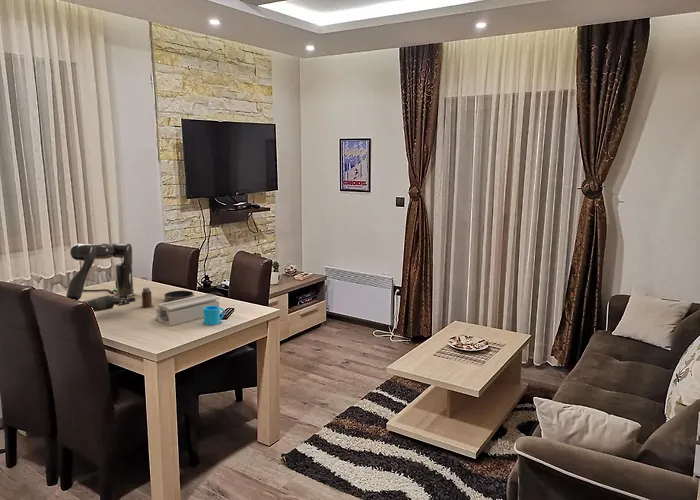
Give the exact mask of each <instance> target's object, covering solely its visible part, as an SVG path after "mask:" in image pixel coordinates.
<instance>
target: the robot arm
mask: <svg viewBox="0 0 700 500" xmlns="http://www.w3.org/2000/svg"><path fill="white" fill-rule="evenodd" d="M69 253H70V256H71V258H72V259H73V260H76V261H79V262H83V263H82V266H81V267H80V269H79V270H78V271H77V272H76V274H75V275H74V276H73V277H72V278H71V279H70V281H69V283H68V286H67V291H66V295H65V297H68V298H71V299H75V300H78V301H79V300H80V299H82V296H83V293H84V292H109V293H110V294H113V293H115V294H114V295H109V294H108V295H104V296H103V295H102V296H98V297H95V298H91V299H86V300H83V301H82V302H86V303H88V304H89V305H90V306H91V307H92V308H93V310H94V312H93V313H96V312H103V311H108V310H112V309H113V308H114V306H118V307H121V306H125V305H130V303H133V302H134V303H135V301H136V297H132V296H134V291H135V289H134V281H133V280H134V279H133V247H132V245H131V243H129V242H128V243H127V242H126V243H124V242H116V243H112V244H111V243H106V242H105V243H104V242H103V243H80V242H79V243H75V244H74V245H73V246H71V248H70V251H69ZM111 258H115V259H123V261H122V262H119V263H117V264H115V276H116V277H115V278H116V279H115V280H114V281H115V288H114V289H113V290H110V289H107V288H102V289H101V288H100V289H84V288H85V284H86V281H87V279H88V276H89V273H90V271H91V269H92V267H93V264H94V262H95V260H108V259H111Z"/></svg>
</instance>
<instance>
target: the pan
mask: <svg viewBox="0 0 700 500" xmlns="http://www.w3.org/2000/svg"><path fill="white" fill-rule="evenodd" d="M194 296H195V293H194V291H191V290H173V291H169V292H166V293H164V294H163V301H164V303H166V302H171V301H176V300H180V299H185V298H189V297H194Z"/></svg>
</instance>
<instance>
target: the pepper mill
mask: <svg viewBox="0 0 700 500" xmlns="http://www.w3.org/2000/svg"><path fill="white" fill-rule="evenodd" d="M152 299H153V298H152V290H151V289H150V287H143V288H142V291H141V307H142V308H144V309H147V308H152V307H153V302H152Z"/></svg>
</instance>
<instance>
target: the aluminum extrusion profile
mask: <svg viewBox="0 0 700 500" xmlns="http://www.w3.org/2000/svg"><path fill="white" fill-rule="evenodd" d="M219 299H220V297H219V296H216V295H215V294H212V293H203V294H199V295H194V297H189V298H185V299H180V300H176V301H171V302H161V303H158V304H157V307H155V308H154V310H155V313H156V315H155V320H156V321H158V322H160V323H162V324H164V325H166V326H169V327H170V326H174V325H178V324H182V323H186V322H190V321H195V320H198V319H201V318H204V307H207V306H219V307H220V301H219Z"/></svg>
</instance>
